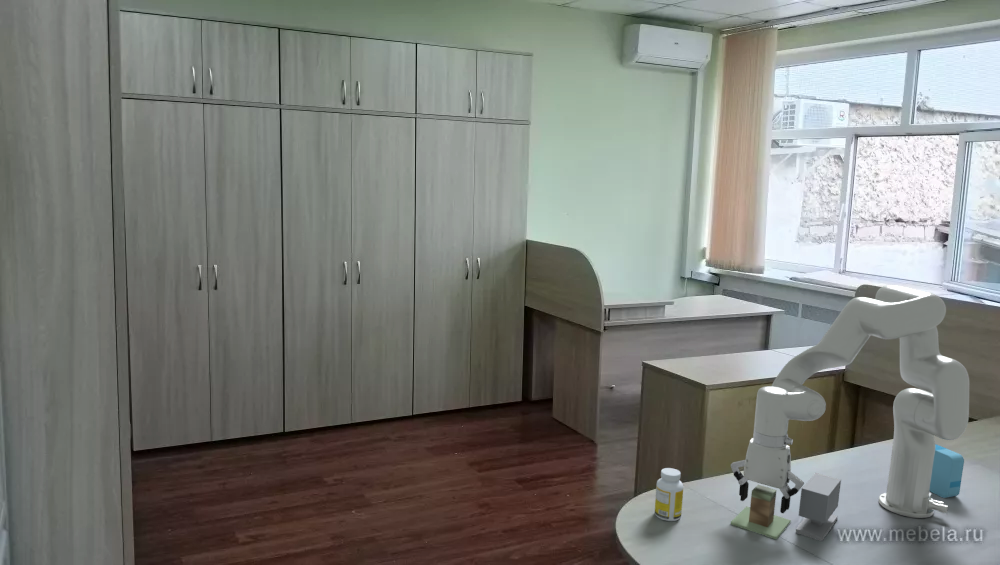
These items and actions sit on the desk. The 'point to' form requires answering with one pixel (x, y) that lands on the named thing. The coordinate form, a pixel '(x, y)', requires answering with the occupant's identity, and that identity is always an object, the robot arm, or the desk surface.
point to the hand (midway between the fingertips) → (763, 505)
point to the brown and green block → (762, 505)
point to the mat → (770, 531)
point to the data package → (946, 472)
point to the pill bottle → (669, 495)
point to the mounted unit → (818, 506)
